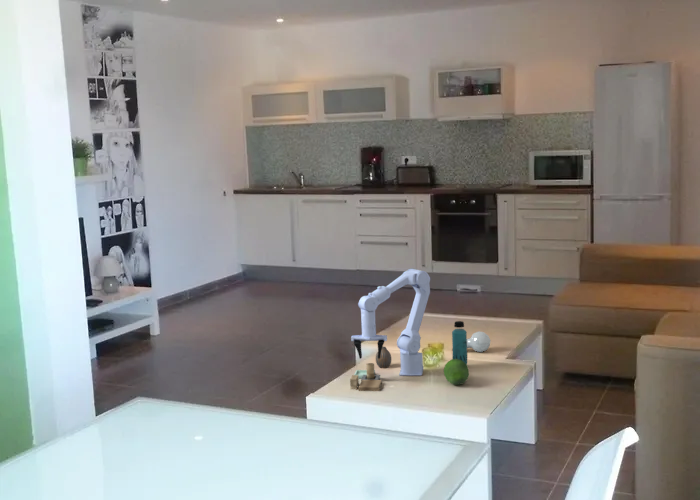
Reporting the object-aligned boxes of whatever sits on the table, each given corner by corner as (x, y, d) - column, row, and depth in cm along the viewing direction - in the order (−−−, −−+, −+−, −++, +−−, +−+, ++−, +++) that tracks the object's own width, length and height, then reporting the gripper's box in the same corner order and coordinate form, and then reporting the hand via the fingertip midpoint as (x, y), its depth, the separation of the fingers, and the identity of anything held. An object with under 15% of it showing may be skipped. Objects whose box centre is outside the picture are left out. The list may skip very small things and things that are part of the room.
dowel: (375, 379, 334) (374, 363, 333) (374, 381, 331) (373, 365, 330) (367, 379, 335) (366, 363, 334) (366, 381, 332) (365, 365, 331)
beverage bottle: (450, 369, 345) (449, 323, 343) (454, 364, 351) (453, 319, 349) (465, 370, 343) (464, 323, 340) (469, 365, 349) (468, 320, 346)
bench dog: (358, 384, 328) (358, 375, 328) (356, 389, 322) (356, 379, 322) (352, 384, 329) (352, 375, 328) (350, 389, 323) (350, 379, 322)
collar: (380, 378, 336) (380, 374, 336) (378, 383, 329) (378, 379, 329) (363, 378, 337) (363, 374, 337) (361, 383, 330) (361, 379, 330)
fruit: (444, 377, 334) (443, 353, 332) (468, 377, 332) (467, 353, 331) (444, 388, 319) (443, 363, 317) (469, 388, 318) (469, 363, 316)
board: (381, 384, 329) (381, 379, 329) (378, 392, 319) (378, 387, 319) (362, 384, 330) (361, 379, 330) (358, 392, 320) (358, 387, 320)
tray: (375, 373, 343) (375, 370, 343) (372, 378, 335) (372, 375, 335) (356, 373, 344) (356, 370, 344) (353, 378, 337) (353, 375, 336)
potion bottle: (492, 355, 369) (459, 358, 372) (491, 339, 376) (459, 342, 379) (489, 342, 363) (456, 346, 366) (488, 326, 370) (455, 329, 373)
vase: (392, 364, 356) (391, 345, 355) (391, 368, 349) (390, 349, 348) (376, 364, 357) (375, 345, 356) (375, 369, 350) (374, 349, 349)
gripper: (349, 327, 327) (350, 360, 329) (385, 327, 325) (386, 360, 327) (352, 323, 334) (353, 355, 336) (387, 323, 332) (388, 356, 334)
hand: (369, 357), depth 332 cm, fingers open, 7 cm apart
